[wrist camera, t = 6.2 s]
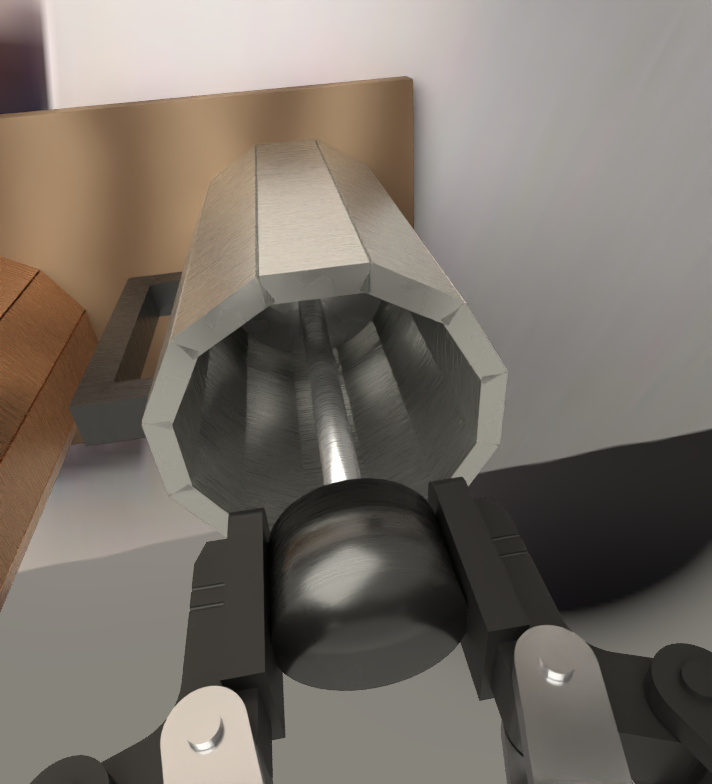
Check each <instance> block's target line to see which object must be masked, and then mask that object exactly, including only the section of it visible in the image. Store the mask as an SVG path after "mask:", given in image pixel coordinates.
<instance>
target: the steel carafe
mask: <svg viewBox="0 0 712 784" xmlns="http://www.w3.org/2000/svg"><path fill="white" fill-rule="evenodd" d="M359 293H367V294H369V295H372V296H375V297H377V298H380V299H382V300H381V303H380V305H379V307H378V309H377V312H376V313H375V315H374V316H373V318H372V320H371V321H370V322H369V323H368V324H367V326H366V327H365V328H364V329H363V330H362V331H361V332H360V333H359V334H357V335H356V336H355V337H353V338H352V339H351V340H349V341H347V342H346V343H344V344H342V345H340V346H338V347H335V348H333V349H332V351H333V355H334V360H335V364H336V368H337V373H338V377H339V382H340V386H341V390H342V395H343V399H344V404H345V408H346V412H347V417H348V421H349V426H350V430H351V434H352V439H353V443H354V448H355V452H356V456H357V461H358V465H359V470H360V474H361V478H374V479H384V480H389V481H394V482H397V483H400V484H403V485H405V486H407V487H409V488H411V489H413V490H415V491H416V492H418V493H419V494H420V495H422V496H423V497H424V498H425V499H426V500H427V502H428V484H429V482H430V481H436V480H443V479H449V478H455V477H463V478H464V479H465V481H466V483H467V485H468V486H469V485H470V483H471V482H472V481H473V479H474V478H475V477H476V476H477V474H478V473H479V472H480V470H481V469H482V468H483V466H484V465H485V464H486V462H487V461H488V460H489V458H490V457H491V456H492V454H493V453H494V452H495V450H496V449H497V448H498V447H499V445H498V444H499V443H500V440H501V431H502V422H503V413H504V404H505V395H506V386H507V377H508V372H507V369H506V367H505V366H504V364H503V362H502V361H501V359H500V357H499V356H498V354H497V353H496V351H495V349H494V348H493V346H492V344H491V343H490V341H489V339H488V338H487V336H486V335H485V333H484V331H483V330H482V328H481V326H480V325H479V323H478V322H477V320H476V318H475V317H474V315H473V313H472V312H471V310H470V309H469V307H468V305H467V304H466V302H465V301H464V299H463V298H462V297H461V295H460V294H459V292H458V291H457V290H456V288H455V287H454V285H453V284H452V283H451V281H450V280H449V278H448V277H447V276H446V274H445V273H444V271H443V270H442V269H441V267H440V266H439V264H438V263H437V262H436V260H435V259H434V257H433V256H432V255H431V253H430V252H429V251H428V249H427V248H426V246H425V245H424V244H423V242H422V241H421V239H420V238H419V237H418V235H417V234H416V232H415V231H414V230H413V228H412V227H411V225H410V224H409V223H408V221H407V220H406V218H405V217H404V216H403V214H402V213H401V211H400V210H399V209H398V207H397V206H396V204H395V203H394V202H393V200H392V199H391V197H390V196H389V195H388V193H387V192H386V190H385V189H384V188H383V186H382V185H381V183H380V182H379V181H378V179H377V178H376V177H375V175H374V174H373V172H372V171H371V170H370V168H369V167H368V165H366V163H364V162H362V161H360V160H357V159H355V158H353V157H351V156H349V155H347V154H345V153H343V152H341V151H339V150H337V149H335V148H333V147H331V146H329V145H327V144H325V143H323V142H321V141H319V140H317V139H315V140H314V139H304V140H294V141H285V142H275V143H265V144H257V147H256V146H255V145H254V146H253V147H252V148H251V149H249V150H248V151H247V152H246V153H244V154H243V155H242V156H241V157H239V158H238V159H237V160H236V161H234V162H233V163H232V164H231V165H229V166H228V167H227V168H226V169H224V170H223V171H222V172H221V173H219V174H218V175H217V176H216V177H214V178H213V179H212V180H211V182H210V183H209V186H208V189H207V192H206V195H205V198H204V201H203V204H202V207H201V210H200V213H199V216H198V219H197V222H196V225H195V228H194V231H193V235H192V238H191V242H190V246H189V250H188V253H187V257H186V261H185V264H184V268H183V271H182V272H173V273H165V274H157V275H149V276H140V277H132V278H128V280H127V282H126V284H125V287H124V289H123V291H122V293H121V295H120V297H119V300H118V302H117V304H116V306H115V308H114V310H113V312H112V315H111V317H110V319H109V321H108V323H107V325H106V328H105V330H104V332H103V334H102V336H101V338H100V340H99V343H98V345H97V347H96V349H95V351H94V353H93V355H92V358H91V360H90V362H89V364H88V366H87V368H86V371H85V373H84V375H83V377H82V379H81V381H80V383H79V386H78V388H77V390H76V392H75V394H74V396H73V398H72V401H71V403H70V405H69V407H68V408H69V410H70V412H71V415H72V417H73V419H74V421H75V423H76V425H77V428H78V430H79V432H80V434H81V436H82V439H83V441H84V443H85V445H86V446H90V445H97V444H104V443H111V442H118V441H125V440H131V439H138V438H145V437H146V438H147V441H148V444H149V446H150V449H151V452H152V454H153V457H154V460H155V462H156V465H157V468H158V470H159V473H160V476H161V478H162V481H163V484H164V486H165V489H166V492H167V494H169V497H171V498H172V499H173V500H175V501H176V502H177V503H179V504H180V505H182V506H183V507H184V508H186V509H187V510H188V511H190V512H191V513H193V514H194V515H195V516H197V517H198V518H200V519H201V520H202V521H204V522H205V523H206V524H208V525H209V526H211V527H212V528H213V529H215V530H216V531H217V532H219V533H220V534H222V535H223V536H224V537H226V538H227V530H228V516H229V513H231V512H237V511H244V510H250V509H256V508H262V507H264V509H265V512H266V516H267V521H268V525H269V529H270V532H271V529H272V527H273V525H274V523H275V522H276V520H277V519H278V517H279V516H280V515H281V514H282V512H283V511H284V510H285V509H286V508H287V507H288V506H290V505H291V504H292V503H293V502H294V501H296V500H297V499H299V498H300V497H302V496H303V495H305V494H307V493H309V492H311V491H312V490H315V489H317V488H319V487H322V486H324V480H323V473H322V467H321V460H320V453H319V446H318V439H317V432H316V425H315V419H314V412H313V405H312V398H311V391H310V384H309V378H308V371H307V364H306V357H305V354H296V353H289V352H284V351H280V350H276V349H274V348H271V347H269V346H266V345H265V344H263V343H261V342H259V341H258V340H256V339H255V338H253V337H252V336H251V335H249V334H248V333H247V332H246V331H245V330H244V329H243V328H242V327H241V326H242V325H243V324H245V323H246V322H247V321H249V320H250V319H252V318H253V317H254V316H256V315H257V314H259V313H260V312H261V311H263V310H264V309H266V308H267V307H268V306H270V305H273V304H281V303H288V302H296V301H304V300H312V299H320V298H328V297H336V296H344V295H351V294H359ZM168 315H171V316H170V319H169V323H168V327H167V330H166V334H165V338H164V341H163V345H162V349H161V352H160V356H159V360H158V364H157V367H156V371H155V375H154V377H150V378H143V379H140V378H141V375H142V372H143V368H144V365H145V362H146V359H147V355H148V352H149V349H150V346H151V342H152V339H153V336H154V333H155V329H156V326H157V323H158V320H159V317H160V316H168Z"/></svg>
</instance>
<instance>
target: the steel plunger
mask: <svg viewBox="0 0 712 784" xmlns="http://www.w3.org/2000/svg"><path fill="white" fill-rule="evenodd" d="M381 300H382V299H380V298H377V297H375V296H372V295H369V294H367V293H359V294H351V295H344V296H336V297H328V298H320V299H312V300H304V301H296V302H288V303H281V304H273V305H270V306H268V307H267V308H266V309H264V310H263V311H261V312H260V313H259V314H257V315H256V316H254V317H253V318H252V319H250V320H249V321H247V322H246V323H245V324H243V325H242V326H241V327H242V328H243V329H244V330H245V331H246V332H247V333H248V334H249V335H251V336H252V337H253V338H255V339H256V340H258V341H259V342H261V343H263V344H265V345H266V346H269V347H271V348H274V349H276V350H280V351H284V352H289V353H296V354H305V357H306V364H307V371H308V378H309V384H310V391H311V398H312V405H313V412H314V419H315V425H316V432H317V439H318V446H319V453H320V460H321V467H322V473H323V480H324V486H322V487H319V488H317V489H315V490H312V491H311V492H309V493H307V494H305V495H303V496H302V497H300V498H299V499H297V500H296V501H294V502H293V503H292V504H291V505H290V506H288V507H287V508H286V509H285V510H284V511H283V512H282V514H281V515H280V516H279V517H278V519H277V520H276V522H275V523H274V525H273V527H272V529H271V532H270V535H269V539H268V555H269V594H270V632H271V645H272V649H273V652H274V656H275V659H276V663H277V666H278V668H279V669H280V670H281V671H282V672H283V673H284V674H286V675H287V676H289V677H290V678H292V679H293V680H295V681H298V682H299V683H302V684H305V685H308V686H311V687H315V688H320V689H327V690H338V691H353V690H365V689H371V688H377V687H382V686H386V685H390V684H394V683H397V682H400V681H403V680H406V679H408V678H411V677H413V676H415V675H418V674H420V673H422V672H424V671H426V670H427V669H429V668H431V667H433V666H434V665H436V664H437V663H439V662H440V661H441V660H442V659H444V658H445V657H446V656H448V655H449V654H450V653H451V652H452V651H453V650H454V649H455V648H456V646H457V645H458V644H459V643H460V641H461V640H462V638H463V636H464V635H465V632H466V623H467V611H468V606H467V603H466V600H465V598H464V595H463V592H462V589H461V586H460V583H459V581H458V578H457V575H456V572H455V569H454V567H453V564H452V561H451V558H450V555H449V553H448V550H447V547H446V544H445V541H444V539H443V536H442V533H441V530H440V527H439V525H438V522H437V519H436V516H435V513H434V511H433V509H432V507H431V505H430V504H429V503H428V502H427V500H426V499H425V498H424V497H423V496H422V495H420V494H419V493H418V492H416V491H415V490H413V489H411V488H409V487H407V486H405V485H403V484H400V483H397V482H394V481H389V480H384V479H374V478H361V474H360V470H359V465H358V461H357V456H356V452H355V448H354V443H353V439H352V434H351V430H350V426H349V421H348V417H347V412H346V408H345V404H344V399H343V395H342V390H341V386H340V382H339V377H338V373H337V368H336V364H335V360H334V355H333V351H332V349H333V348H335V347H338V346H340V345H342V344H344V343H346V342H347V341H349V340H351V339H352V338H353V337H355V336H356V335H357V334H359V333H360V332H361V331H362V330H363V329H364V328H365V327H366V326H367V324H368V323H369V322H370V321H371V320H372V318H373V316H374V315H375V313H376V312H377V309H378V307H379V305H380V303H381Z"/></svg>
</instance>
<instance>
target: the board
mask: <svg viewBox="0 0 712 784" xmlns="http://www.w3.org/2000/svg"><path fill="white" fill-rule="evenodd" d="M304 139H314V140H315V139H317V140H319V141H321V142H323V143H325V144H327V145H329V146H331V147H333V148H335V149H337V150H339V151H341V152H343V153H345V154H347V155H349V156H351V157H353V158H355V159H357V160H360V161H362V162H364V163H366V165H368V167H369V168H370V170H371V171H372V172H373V174H374V175H375V177H376V178H377V179H378V181H379V182H380V183H381V185H382V186H383V188H384V189H385V190H386V192H387V193H388V195H389V196H390V197H391V199H392V200H393V202H394V203H395V204H396V206H397V207H398V209H399V210H400V211H401V213H402V214H403V216H404V217H405V218H406V220H407V221H408V223H409V224H410V225H411V227H412V228H413V230H414V195H413V79H411V78H409V77H407V76H404V77H393V78H383V79H372V80H361V81H351V82H340V83H329V84H319V85H308V86H298V87H287V88H276V89H266V90H255V91H245V92H234V93H223V94H213V95H202V96H192V97H181V98H170V99H160V100H149V101H139V102H128V103H117V104H107V105H96V106H86V107H75V108H64V109H54V110H43V111H32V112H22V113H11V114H1V115H0V256H1V257H4V258H7V259H10V260H13V261H16V262H19V263H22V264H25V265H28V266H31V267H34V268H37V269H39V272H40V271H42V272H44V273H45V274H46V275H47V276H48V277H49V278H50V279H52V280H53V281H54V282H55V283H56V284H57V285H58V286H59V287H61V288H62V289H63V290H64V291H65V292H66V293H67V294H69V295H70V296H71V297H72V298H73V299H74V300H75V301H77V302H78V303H79V304H80V305H81V306H82V307H83V308H85V310H84V311H87V314H88V317H89V319H90V322H91V324H92V327H93V329H94V332H95V335H96V337H97V340H98V342H99V340H100V338H101V336H102V334H103V332H104V330H105V328H106V325H107V323H108V321H109V319H110V317H111V315H112V312H113V310H114V308H115V306H116V304H117V302H118V300H119V297H120V295H121V293H122V291H123V289H124V287H125V284H126V282H127V280H128V278H132V277H140V276H149V275H157V274H165V273H173V272H182V271H183V268H184V264H185V261H186V257H187V253H188V250H189V246H190V242H191V238H192V235H193V231H194V228H195V225H196V222H197V219H198V216H199V213H200V210H201V207H202V204H203V201H204V198H205V195H206V192H207V189H208V186H209V183H210V182H211V180H212V179H213V178H214V177H216V176H217V175H218V174H219V173H221V172H222V171H223V170H224V169H226V168H227V167H228V166H229V165H231V164H232V163H233V162H234V161H236V160H237V159H238V158H239V157H241V156H242V155H243V154H244V153H246V152H247V151H248V150H249V149H251V148H252V147H253V146H254V145H255V146H256V147H257V144H265V143H275V142H285V141H294V140H304ZM170 316H171V315H168V316H160V317H159V320H158V323H157V326H156V329H155V333H154V336H153V339H152V342H151V346H150V349H149V352H148V355H147V359H146V362H145V365H144V368H143V372H142V375H141V378H140V379H143V378H150V377H154V375H155V371H156V367H157V364H158V360H159V356H160V352H161V349H162V345H163V341H164V338H165V334H166V330H167V327H168V323H169V319H170ZM79 443H84V441H83V439H82V436H81V434H80V432H79V430H78V428H77V431H76V433H75V436H74V438H73V440H72V443H71V445H72V444H79Z"/></svg>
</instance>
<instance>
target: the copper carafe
mask: <svg viewBox="0 0 712 784" xmlns="http://www.w3.org/2000/svg"><path fill="white" fill-rule="evenodd" d="M84 310H85V308H83V307H82V306H81V305H80V304H79V303H78V302H77V301H75V300H74V299H73V298H72V297H71V296H70V295H69V294H67V293H66V292H65V291H64V290H63V289H62V288H61V287H59V286H58V285H57V284H56V283H55V282H54V281H53V280H52V279H50V278H49V277H48V276H47V275H46V274H45V273H44V272H42V271H40V272H39V269H37V268H34V267H31V266H28V265H25V264H22V263H19V262H16V261H13V260H10V259H7V258H4V257H1V256H0V612H1V609H2V607H3V604H4V602H5V600H6V597H7V595H8V593H9V590H10V588H11V586H12V583H13V581H14V578H15V576H16V574H17V571H18V569H19V567H20V564H21V562H22V559H23V557H24V555H25V552H26V550H27V548H28V545H29V543H30V540H31V538H32V536H33V533H34V531H35V529H36V526H37V524H38V521H39V519H40V517H41V514H42V512H43V509H44V507H45V505H46V502H47V500H48V498H49V495H50V493H51V490H52V488H53V486H54V483H55V481H56V479H57V476H58V474H59V471H60V469H61V467H62V464H63V462H64V459H65V457H66V455H67V452H68V450H69V448H70V445H71V443H72V440H73V438H74V436H75V433H76V431H77V425H76V423H75V421H74V419H73V417H72V415H71V412H70V410H69V408H68V407H69V405H70V403H71V401H72V398H73V396H74V394H75V392H76V390H77V388H78V386H79V383H80V381H81V379H82V377H83V375H84V373H85V371H86V368H87V366H88V364H89V362H90V360H91V358H92V355H93V353H94V351H95V349H96V347H97V345H98V343H99V342H98V340H97V337H96V335H95V332H94V329H93V327H92V324H91V322H90V319H89V317H88V314H87V311H84Z"/></svg>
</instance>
